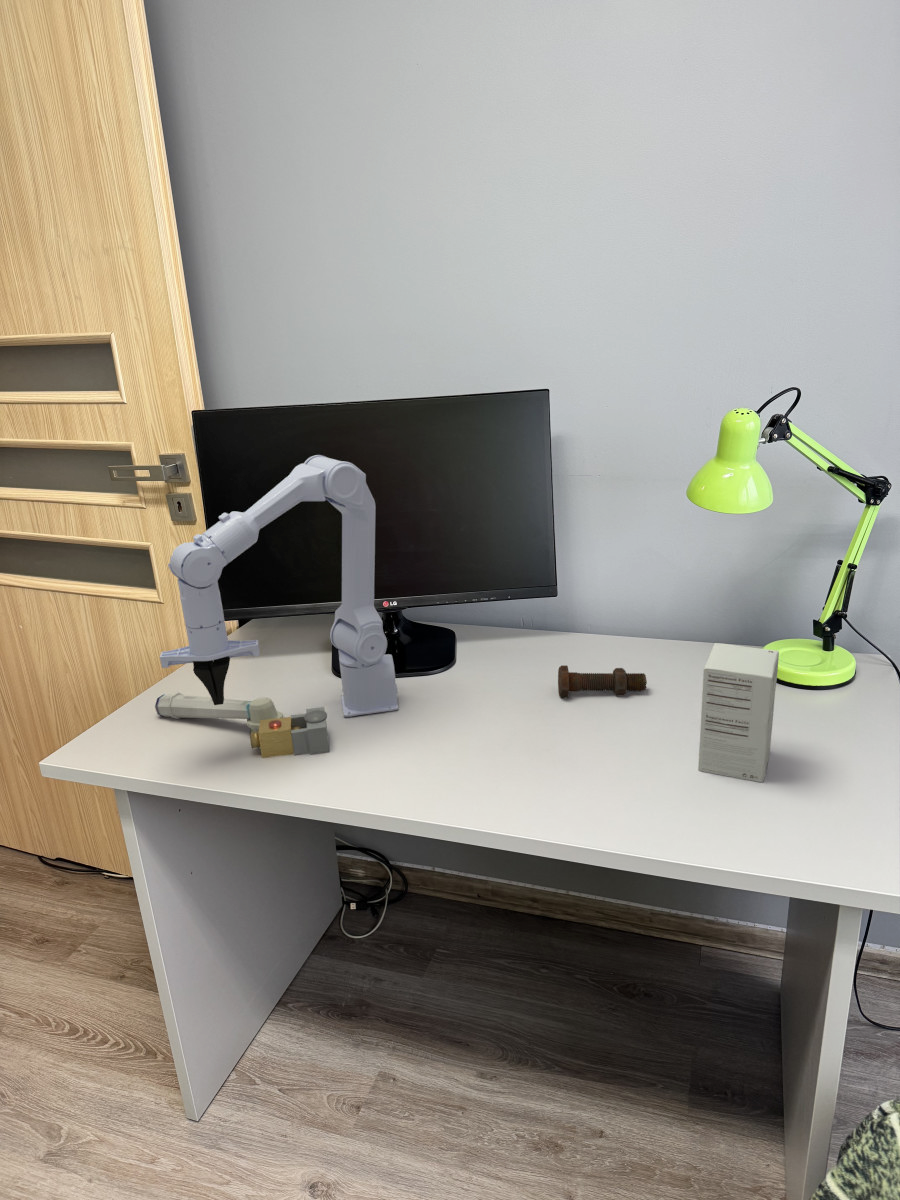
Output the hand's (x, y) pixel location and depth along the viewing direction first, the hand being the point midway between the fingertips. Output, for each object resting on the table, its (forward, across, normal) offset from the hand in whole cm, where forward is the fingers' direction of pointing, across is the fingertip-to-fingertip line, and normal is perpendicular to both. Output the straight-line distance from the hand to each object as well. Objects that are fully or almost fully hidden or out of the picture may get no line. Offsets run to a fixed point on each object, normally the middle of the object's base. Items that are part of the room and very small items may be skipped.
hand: (219, 701), depth 130 cm
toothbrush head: (+10, +2, -11) cm, 15 cm away
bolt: (+10, -64, -3) cm, 65 cm away
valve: (+10, -8, 0) cm, 13 cm away
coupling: (+10, -13, 0) cm, 16 cm away
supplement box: (+10, -75, +23) cm, 79 cm away
